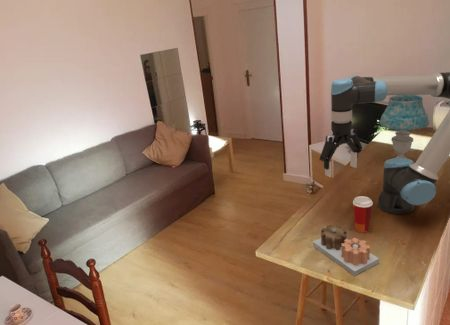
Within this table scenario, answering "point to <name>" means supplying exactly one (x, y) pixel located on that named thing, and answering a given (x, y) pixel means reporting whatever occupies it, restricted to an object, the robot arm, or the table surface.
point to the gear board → (336, 257)
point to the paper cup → (362, 213)
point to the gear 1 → (333, 237)
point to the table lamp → (404, 120)
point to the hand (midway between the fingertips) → (341, 171)
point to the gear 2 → (355, 251)
